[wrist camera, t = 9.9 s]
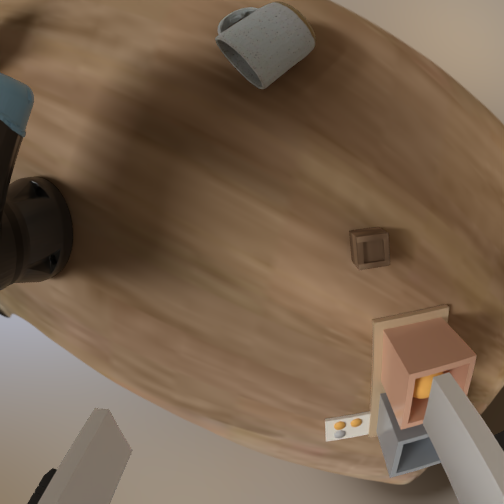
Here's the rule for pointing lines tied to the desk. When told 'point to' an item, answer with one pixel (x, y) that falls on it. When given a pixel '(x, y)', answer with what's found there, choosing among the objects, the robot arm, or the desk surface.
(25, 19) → the desk surface
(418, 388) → the ball
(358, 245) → the stand
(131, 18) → the desk surface
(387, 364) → the double square tube
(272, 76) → the ceramic mug
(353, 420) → the tile
